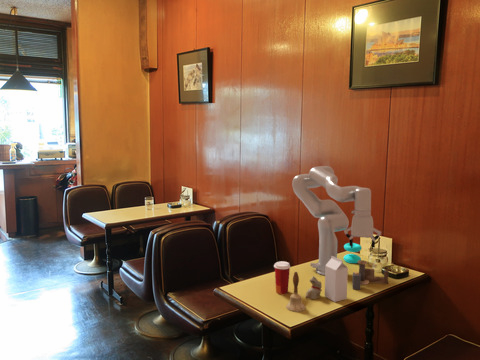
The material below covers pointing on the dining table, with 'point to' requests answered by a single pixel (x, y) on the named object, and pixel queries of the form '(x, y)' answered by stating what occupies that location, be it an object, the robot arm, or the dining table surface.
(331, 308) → the dining table surface
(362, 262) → the bobbin
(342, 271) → the milk carton
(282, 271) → the paper cup
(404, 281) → the dining table surface
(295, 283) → the hand bell
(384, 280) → the notch board
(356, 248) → the donuts
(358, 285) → the dark upright block
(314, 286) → the chocolate bunny
